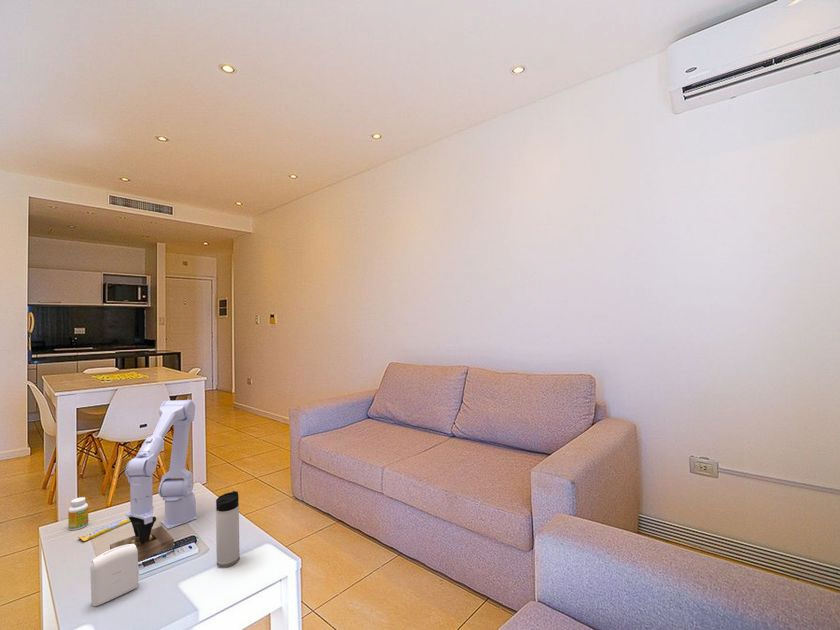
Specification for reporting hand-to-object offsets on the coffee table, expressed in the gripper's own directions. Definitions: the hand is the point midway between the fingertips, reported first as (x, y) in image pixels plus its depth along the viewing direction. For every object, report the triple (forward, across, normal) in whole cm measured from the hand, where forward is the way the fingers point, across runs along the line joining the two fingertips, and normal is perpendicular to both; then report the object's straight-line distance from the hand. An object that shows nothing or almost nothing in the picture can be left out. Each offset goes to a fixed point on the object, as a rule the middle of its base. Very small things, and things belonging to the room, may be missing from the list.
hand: (142, 538), depth 124 cm
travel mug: (+5, +25, +16) cm, 30 cm away
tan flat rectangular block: (+5, 0, 0) cm, 5 cm away
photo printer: (+5, +16, -10) cm, 20 cm away
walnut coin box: (+5, 0, 0) cm, 5 cm away
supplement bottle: (+5, -38, -10) cm, 40 cm away
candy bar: (+6, -27, -3) cm, 28 cm away
